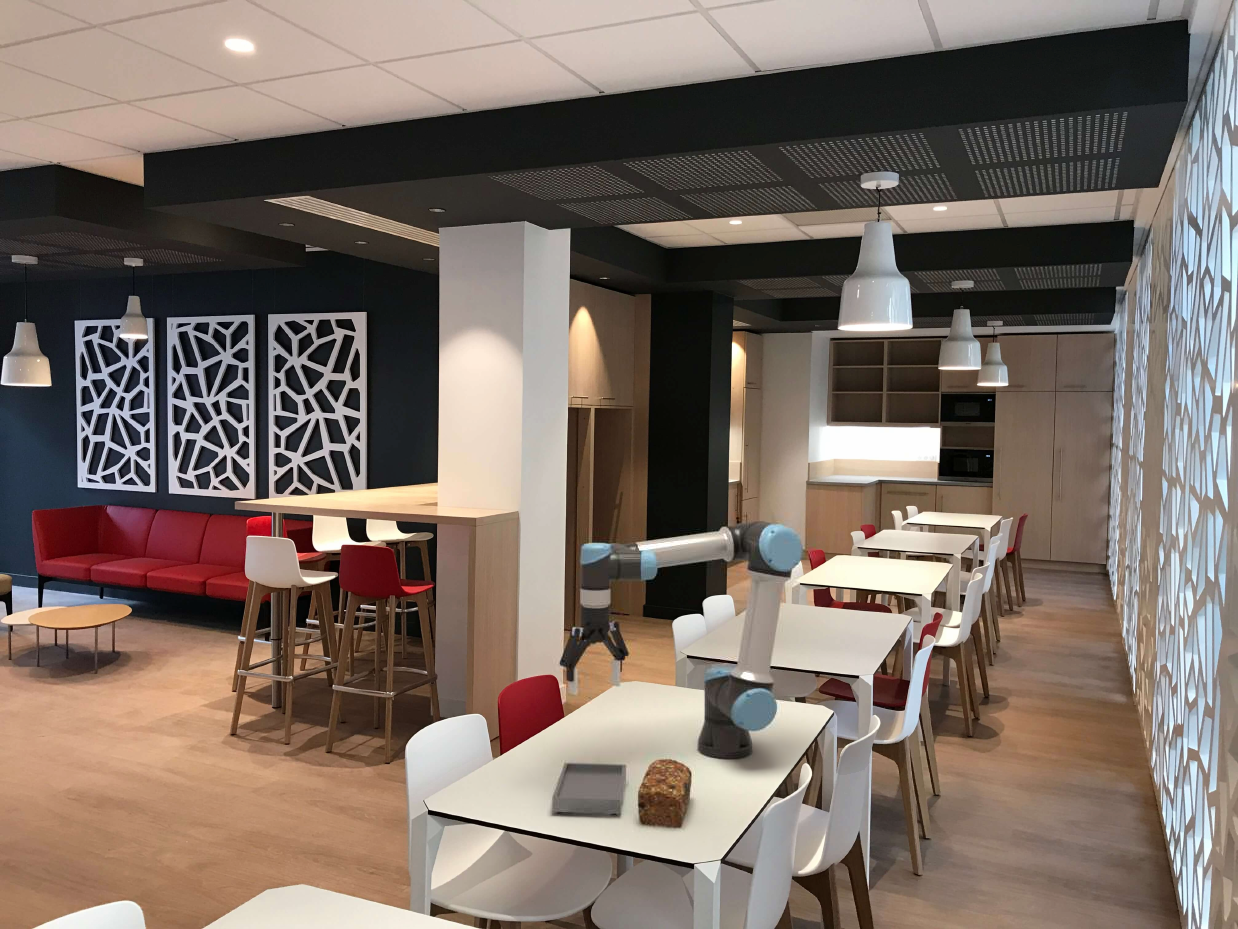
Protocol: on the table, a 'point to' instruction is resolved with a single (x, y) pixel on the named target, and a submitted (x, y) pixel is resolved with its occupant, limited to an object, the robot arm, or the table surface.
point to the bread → (664, 793)
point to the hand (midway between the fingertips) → (594, 689)
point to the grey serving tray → (590, 788)
